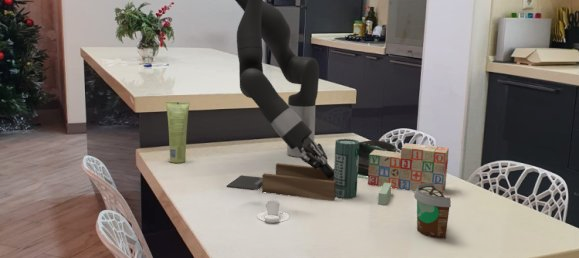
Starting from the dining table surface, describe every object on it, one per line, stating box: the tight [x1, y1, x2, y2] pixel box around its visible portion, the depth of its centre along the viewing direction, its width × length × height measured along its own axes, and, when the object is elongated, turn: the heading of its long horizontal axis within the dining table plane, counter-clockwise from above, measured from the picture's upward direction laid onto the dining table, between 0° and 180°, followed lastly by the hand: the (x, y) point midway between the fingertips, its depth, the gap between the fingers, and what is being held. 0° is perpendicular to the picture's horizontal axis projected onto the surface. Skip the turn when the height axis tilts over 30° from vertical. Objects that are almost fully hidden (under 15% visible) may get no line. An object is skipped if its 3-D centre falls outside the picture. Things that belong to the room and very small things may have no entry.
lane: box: [261, 162, 336, 202], centre depth 168 cm, size 13×20×5 cm, turn 73°
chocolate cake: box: [358, 139, 398, 179], centre depth 189 cm, size 15×19×20 cm
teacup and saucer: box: [256, 199, 291, 223], centre depth 146 cm, size 9×8×4 cm
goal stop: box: [377, 183, 392, 206], centre depth 162 cm, size 10×2×3 cm, turn 163°
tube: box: [165, 100, 190, 164], centre depth 193 cm, size 6×5×20 cm
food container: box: [413, 182, 452, 240], centre depth 139 cm, size 12×6×10 cm, turn 5°
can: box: [333, 138, 360, 200], centre depth 163 cm, size 6×6×15 cm
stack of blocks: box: [367, 142, 449, 195], centre depth 172 cm, size 21×6×12 cm, turn 68°
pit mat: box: [225, 174, 262, 191], centre depth 173 cm, size 11×9×2 cm
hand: (332, 176), depth 165 cm, fingers closed
